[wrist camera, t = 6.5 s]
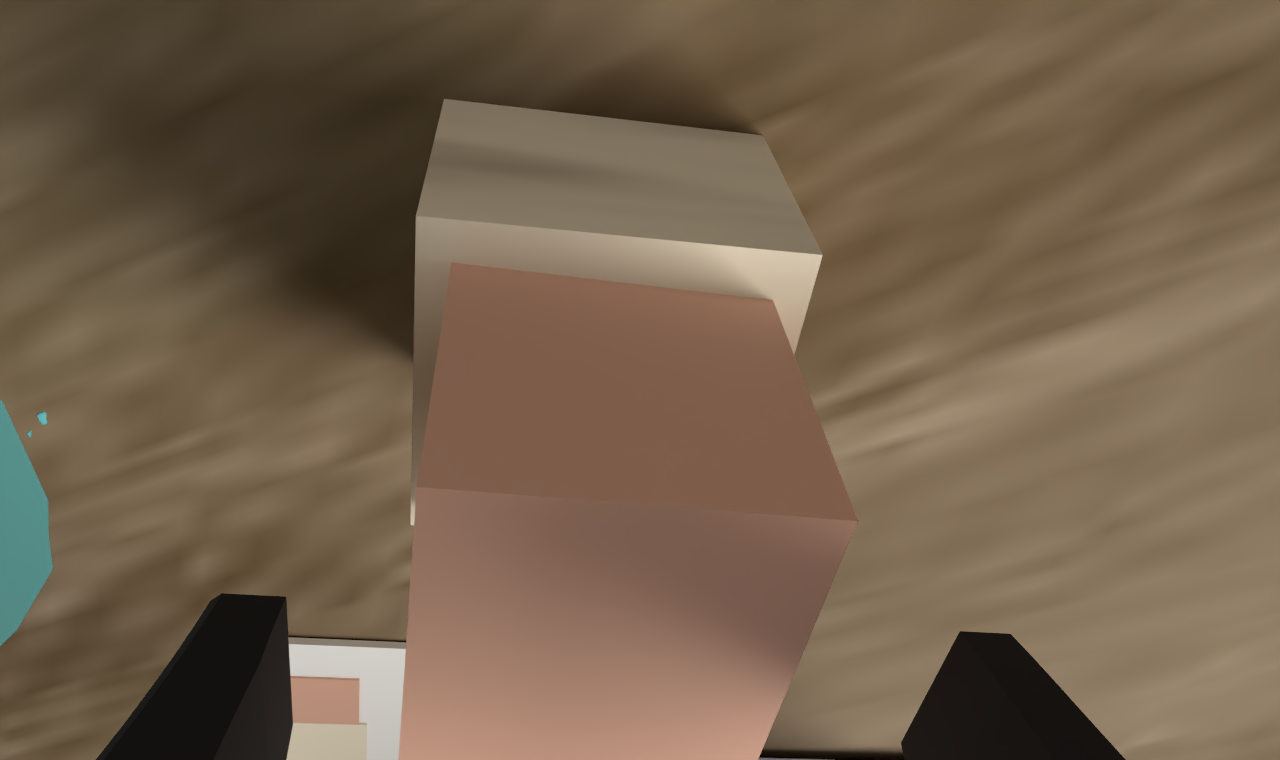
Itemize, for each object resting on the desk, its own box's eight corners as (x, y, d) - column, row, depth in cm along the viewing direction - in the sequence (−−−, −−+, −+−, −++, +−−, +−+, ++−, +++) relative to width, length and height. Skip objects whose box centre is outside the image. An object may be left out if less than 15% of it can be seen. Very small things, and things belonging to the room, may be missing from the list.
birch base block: (704, 386, 20) (740, 540, 16) (435, 366, 19) (410, 525, 16) (762, 133, 17) (822, 254, 13) (444, 97, 16) (415, 216, 12)
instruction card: (409, 783, 27) (408, 792, 27) (240, 780, 26) (238, 789, 26) (417, 642, 24) (416, 651, 24) (225, 634, 23) (221, 643, 23)
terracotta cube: (704, 529, 16) (752, 773, 13) (431, 509, 15) (398, 762, 12) (773, 300, 14) (858, 521, 10) (451, 262, 13) (416, 487, 9)
